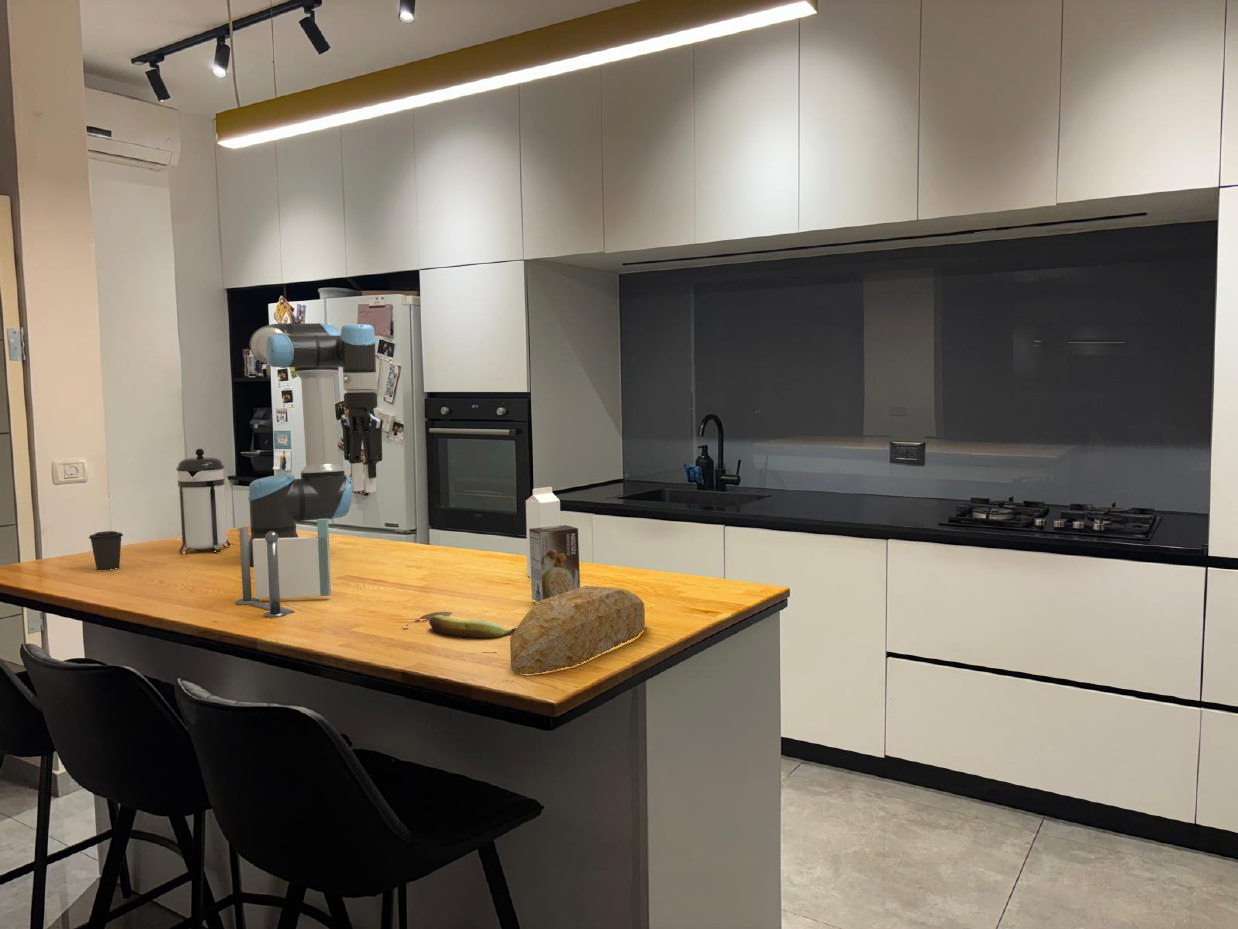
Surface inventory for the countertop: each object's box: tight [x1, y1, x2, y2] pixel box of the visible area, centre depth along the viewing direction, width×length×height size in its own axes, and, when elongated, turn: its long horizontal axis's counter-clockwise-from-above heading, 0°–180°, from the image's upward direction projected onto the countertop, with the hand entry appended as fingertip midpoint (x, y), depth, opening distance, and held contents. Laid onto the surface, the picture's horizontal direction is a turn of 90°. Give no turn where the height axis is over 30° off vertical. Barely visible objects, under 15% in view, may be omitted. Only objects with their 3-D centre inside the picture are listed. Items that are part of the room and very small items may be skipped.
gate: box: [238, 519, 332, 601], centre depth 210 cm, size 19×2×17 cm, turn 95°
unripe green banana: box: [402, 611, 517, 654], centre depth 180 cm, size 35×27×4 cm
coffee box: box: [529, 524, 581, 603], centre depth 205 cm, size 9×6×16 cm
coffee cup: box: [88, 530, 124, 571], centre depth 251 cm, size 8×8×10 cm
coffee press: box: [175, 448, 231, 554], centre depth 278 cm, size 17×16×30 cm
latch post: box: [263, 531, 288, 618], centre depth 197 cm, size 4×4×18 cm
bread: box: [509, 585, 646, 674], centre depth 169 cm, size 36×11×10 cm, turn 147°
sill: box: [234, 597, 295, 615], centre depth 205 cm, size 20×5×1 cm, turn 50°
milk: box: [525, 486, 561, 578], centre depth 231 cm, size 6×6×22 cm
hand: (364, 491), depth 223 cm, fingers open, 4 cm apart
